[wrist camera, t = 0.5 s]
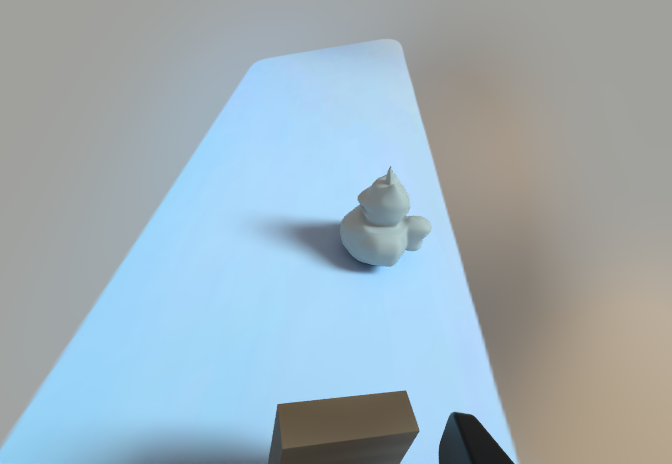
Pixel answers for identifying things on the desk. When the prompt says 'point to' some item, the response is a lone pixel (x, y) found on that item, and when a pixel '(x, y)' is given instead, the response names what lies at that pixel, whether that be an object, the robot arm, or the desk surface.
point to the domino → (344, 430)
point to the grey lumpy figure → (383, 224)
